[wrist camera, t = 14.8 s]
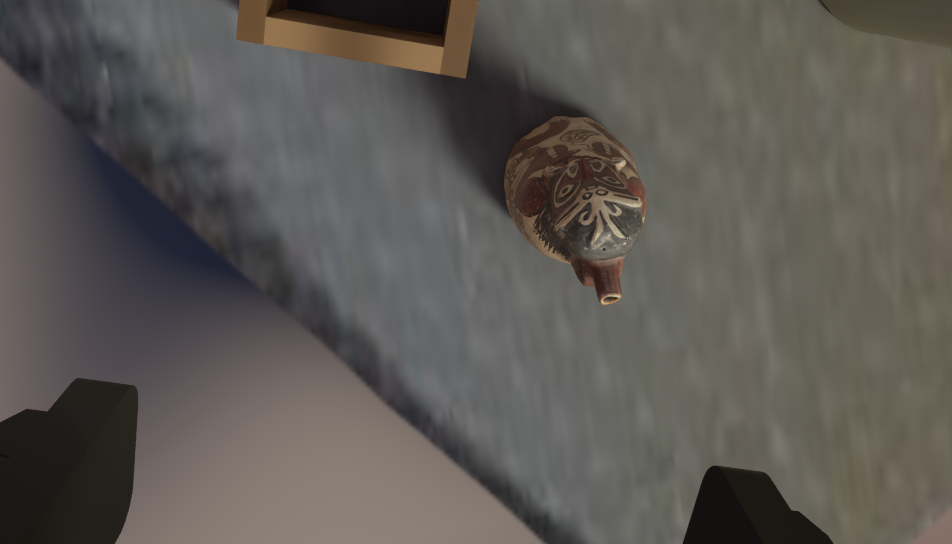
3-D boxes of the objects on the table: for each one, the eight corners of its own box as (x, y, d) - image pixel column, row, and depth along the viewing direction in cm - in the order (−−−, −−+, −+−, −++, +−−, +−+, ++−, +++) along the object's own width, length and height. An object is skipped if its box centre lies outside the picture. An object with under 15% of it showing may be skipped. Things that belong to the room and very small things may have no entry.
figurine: (636, 116, 47) (699, 167, 36) (627, 241, 50) (683, 326, 38) (504, 116, 47) (525, 167, 36) (502, 242, 49) (521, 327, 38)
